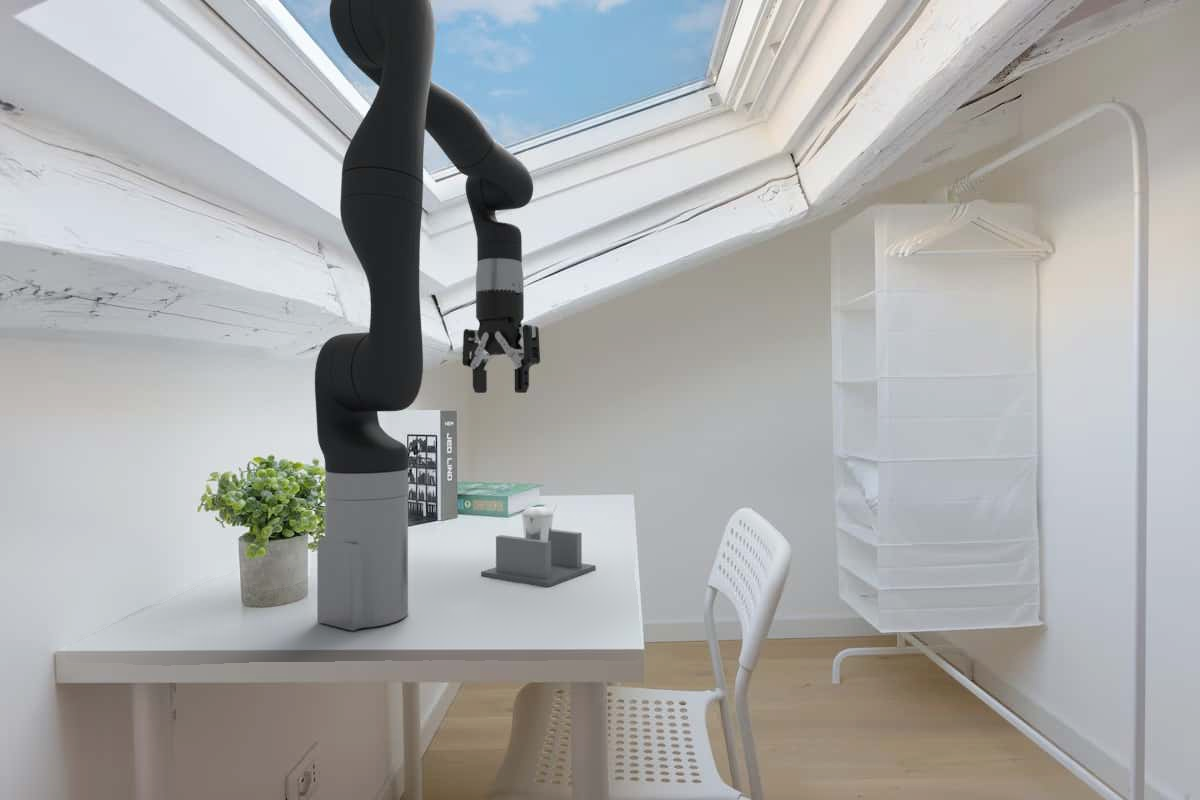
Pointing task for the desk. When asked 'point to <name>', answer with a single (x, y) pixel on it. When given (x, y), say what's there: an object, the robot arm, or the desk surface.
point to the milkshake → (537, 523)
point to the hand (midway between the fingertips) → (500, 392)
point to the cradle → (539, 559)
